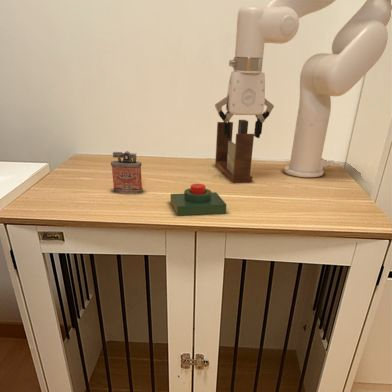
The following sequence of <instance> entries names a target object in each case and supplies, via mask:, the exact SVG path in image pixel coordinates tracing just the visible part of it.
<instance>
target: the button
mask: <svg viewBox="0 0 392 392" xmlns="http://www.w3.org/2000/svg"><path fill="white" fill-rule="evenodd" d="M190 188H191V193H193V194H204V193H205V189H206V185H205V184H203V183H193V184H190Z"/></svg>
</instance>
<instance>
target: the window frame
mask: <svg viewBox="0 0 392 392" xmlns="http://www.w3.org/2000/svg"><path fill="white" fill-rule="evenodd" d="M229 123H230V137H229V138H226V137H225V136H224V134H223V125H224V121H217V124H216V143H215V159H214V160H215V163H214V165H215V167H216V168H217V169H218V170H219V171H221V173H223V174H224V176H226V178H228V179H229V180H230V181H231V182H232V183H233V184H243V183H244V184H245V183H247V184H248V183H252V182H253V176H252V175H251V170H252V169H251V168H252V161H253V158H252V157H253V148H254V141H255V140H254V138H255V136H254V133H247V134H238V133H236V134H235V141H234V142H233V129H234V122H233V121H229Z"/></svg>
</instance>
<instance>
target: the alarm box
mask: <svg viewBox="0 0 392 392" xmlns="http://www.w3.org/2000/svg"><path fill="white" fill-rule="evenodd" d="M170 204H171V206H172V208H173V210H174V212H175V213H176V216H178V217H181V216H197V215H218V214H220V215H223V214H227V203H226V202H225V201H224V200H223V198H222V197H221V196H220V195H219V194H218V193H217V192H215V191H214V192H213V191H211V189H209V188H205V193H204V194H193V193H191V187H190V188H186V189H185V190H184V192H183V193H170Z"/></svg>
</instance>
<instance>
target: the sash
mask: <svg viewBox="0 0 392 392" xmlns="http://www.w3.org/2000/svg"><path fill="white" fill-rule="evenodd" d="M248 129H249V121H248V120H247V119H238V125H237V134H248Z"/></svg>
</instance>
